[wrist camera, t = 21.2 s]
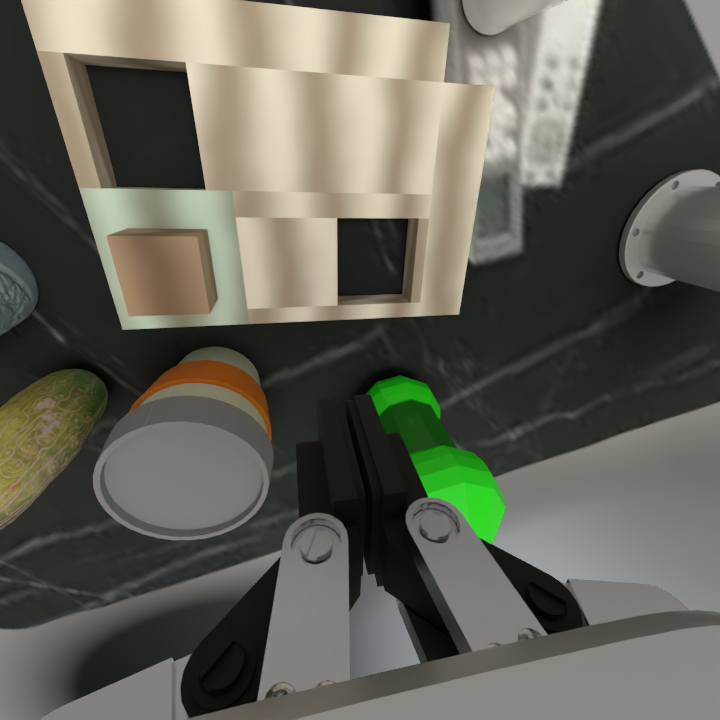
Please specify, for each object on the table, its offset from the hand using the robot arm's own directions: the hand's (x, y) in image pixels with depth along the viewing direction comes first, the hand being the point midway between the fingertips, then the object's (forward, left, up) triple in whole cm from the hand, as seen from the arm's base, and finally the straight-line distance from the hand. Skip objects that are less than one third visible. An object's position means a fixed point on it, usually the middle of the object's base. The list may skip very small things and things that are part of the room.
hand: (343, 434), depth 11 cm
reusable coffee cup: (+10, +14, -27) cm, 32 cm away
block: (+11, 0, -24) cm, 26 cm away
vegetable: (+22, +12, -27) cm, 37 cm away
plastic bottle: (-10, +18, -27) cm, 34 cm away
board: (0, -6, -27) cm, 28 cm away
